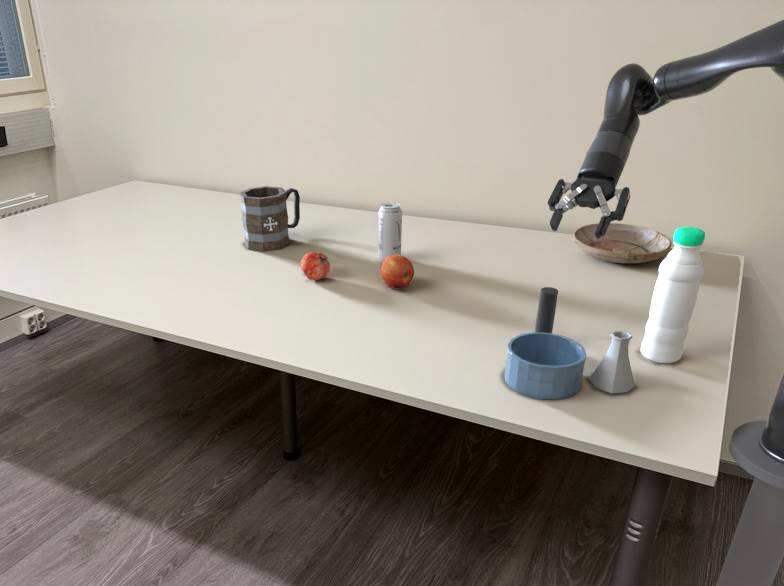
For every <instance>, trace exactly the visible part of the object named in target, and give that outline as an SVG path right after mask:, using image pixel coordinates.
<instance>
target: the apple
mask: <svg viewBox="0 0 784 586" xmlns="http://www.w3.org/2000/svg"><path fill="white" fill-rule="evenodd" d="M379 270H380V271H379V272H380V273H379V274H380V277H381V280H382V281H383V283H384V284H385V285H386V286H388V287H389V288H391V289H394V290H403V289H405V288H407V287H408V286H409V285H410V284H411V283H412V281H413V280H414V276H415V268H414V265H413V263H412V262H411V260H410V259H409V258H408V257H406V256H404V255H402V254H401V255H397V254H394V255H390V256H389V257H387V258H386V259H385V260H384V261H383V262H381V265H380V269H379Z"/></svg>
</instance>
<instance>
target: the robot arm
mask: <svg viewBox="0 0 784 586" xmlns="http://www.w3.org/2000/svg"><path fill="white" fill-rule="evenodd" d="M758 68H769V69H770V70H771V71H772V72H773V73H774V74H775V75H776V76H778V78H780V79H781V80H782V82H784V19H781V20H778V21H776V22H774V23H772V24H770V25H768V26H766V27H763V28H761V29H759V30H757V31H754V32H752V33H749V34H747V35H745V36H743V37H740V38H738V39H736V40H734V41H732V42H729V43H727V44H725V45H723V46H720V47H717V48H714V49H712V50H708V51H706V52H703V53H699V54H696V55H692V56H688V57H684V58H681V59H677V60H676V59H675V60H673V61H670V62H667V63H663V64H662V65H661V66H660V67H658V69H657V70H656V71H655V73H654V76H653V77H652V76H651V74H650V73H649V72H648V70H646V69H645V68H644V66H642V65H640V64H638V63H634V62H633V63H627V64H625V65H622V66H621V67H620V68H619V69H618V70H616V72H615V73H614V74H613V75H612V77H611V78H610V81H609V82H608V85H607V88H606V93H605V101H604V108H603V117H602V121H601V123H600V125H599V128H598V129H597V132H596V135H595V137H594V139H593V140H592V142H591V144H590V146H589V147H588V150H587V151H586V154H585V157H584V160H583V162H582V164H581V167H580V169H579V171H578V174H577V177H576V179H575V180H574V181H573V182H566V181H565V179H563V178H560V179H559V180H557V183H556V185H555V186H554V188H553V190H552V192H551V194H550V196H549V198H548V200H547V206H548V209H549V210H550V211H551V212H553V213H552V215H551V217H550V220H549V225H550V228H551V231H553V232H557V231H558V229H559V226H560V225H561V222H562V219H563V217H564V214H565V213H567V212H568V211H569V210H573V209H574V208H576V207H577V206H578V207H579V208H589V209H592V210H596V209H597V208H599V209H600V212H601V214H602V216H601V218H600V219H599V222H598V223H599V224H598V223H597V224H598V227H597V229H596V231H595V236H596V238H601V236H604V235H605V234H606V231H607V229H608V227H609V224H610V223H612V222H614V221H617V222H621V221H623V219H624V218H625V214H626V211H627V208H628V205H629V202H630V200H631V191H630V188H629V187H628V186H624V187H623V188H622V189H621V188H620V189H619V188H616V187H617V186H618V183H619V181H620V178H621V176H622V173H623V171H624V169H625V166H626V164H627V162H628V159H629V156H630V153H631V149H632V146H633V143H634V141H635V138H636V137H637V134H638V131H639V130H640V125H641V120H640V117H639V116H646V115H648V114H650V113H653V112H654V111H656V110H658V109H660V108H662V107H664V106H666V105H669V104H670V103H671V102H673V101H679V100H684V99H689V98H693V97H698V96H701V95H704V94H707V93H709V92H711V91H713V90H715V89H716V88H717V87H719V86H721V85H722V84H723V83H724V82H726V80H728V79H729V78H730V77H732V76H733V75H734V74H736V73H738V72H741V71H744V70H750V69H758ZM568 191H570V193H569V194H567V192H568ZM565 194H567V195H566V196H565V197H564V198H563V196H564V195H565ZM615 197H616V200H617V204H616V207H615V209H614V210H610V208H609V204H608V202H609V201H610V200H612V199H613V198H615ZM562 198H563V199H562ZM561 199H562V200H561ZM766 421H767V423H766V426H765V428H764V430H763V434H762V435H761V438H760V440H759V445H760V447H761V449H762V450H763V451H764V453H766V454H767V455H768V456H769V457H771V458H772V459H774V460H776V461H778V462H780V463H782V464H784V374H783V375H782V378H781V381H780V384H779V386H778V388H777V392H776V395H775V398H774V400H773V403H772V406H771V408H770V412H769V414H768V417H767V420H766Z"/></svg>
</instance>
